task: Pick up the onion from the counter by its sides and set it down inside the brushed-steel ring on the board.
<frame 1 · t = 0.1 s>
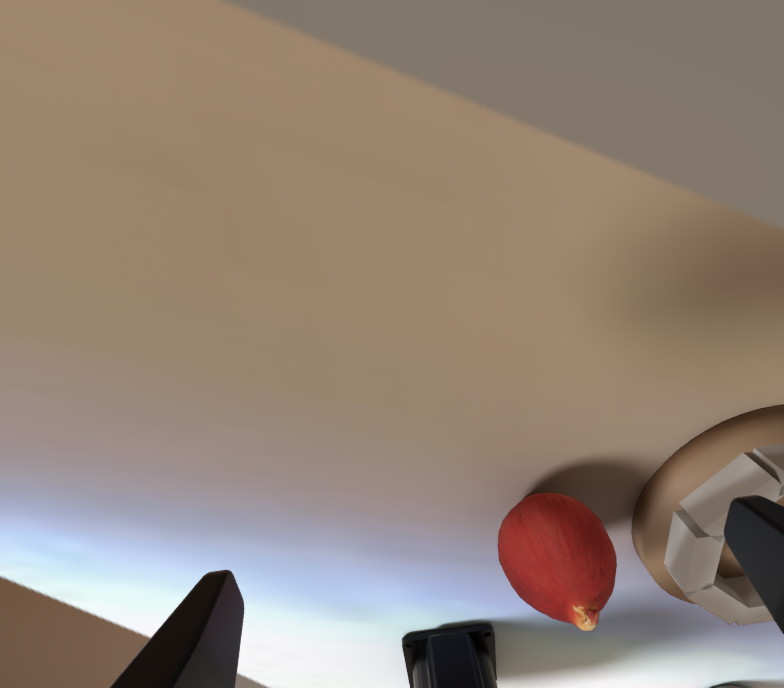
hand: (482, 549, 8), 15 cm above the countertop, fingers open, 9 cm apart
onion: (529, 497, 27), on the countertop
ring board: (749, 505, 28), on the countertop
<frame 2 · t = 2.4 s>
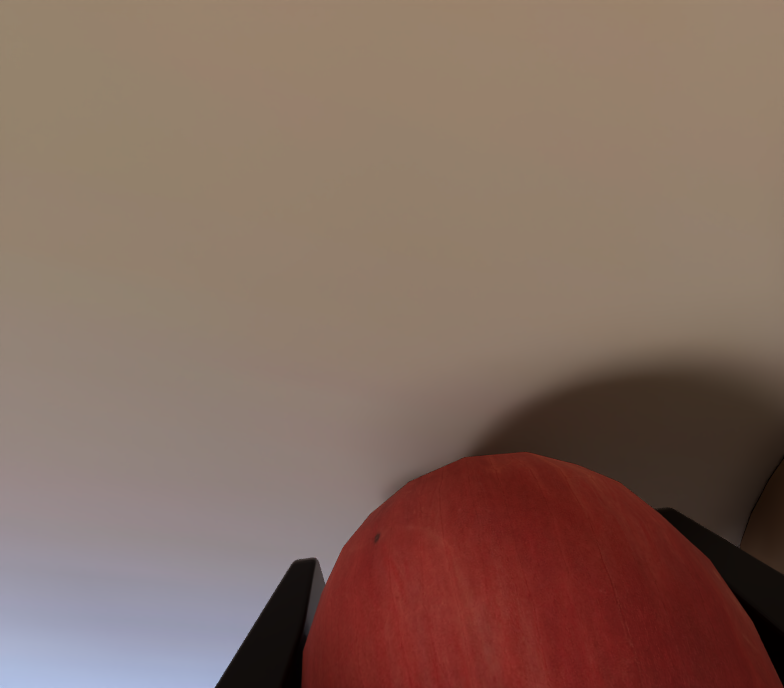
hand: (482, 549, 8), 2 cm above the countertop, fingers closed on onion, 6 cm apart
onion: (462, 478, 10), on the countertop, touching gripper
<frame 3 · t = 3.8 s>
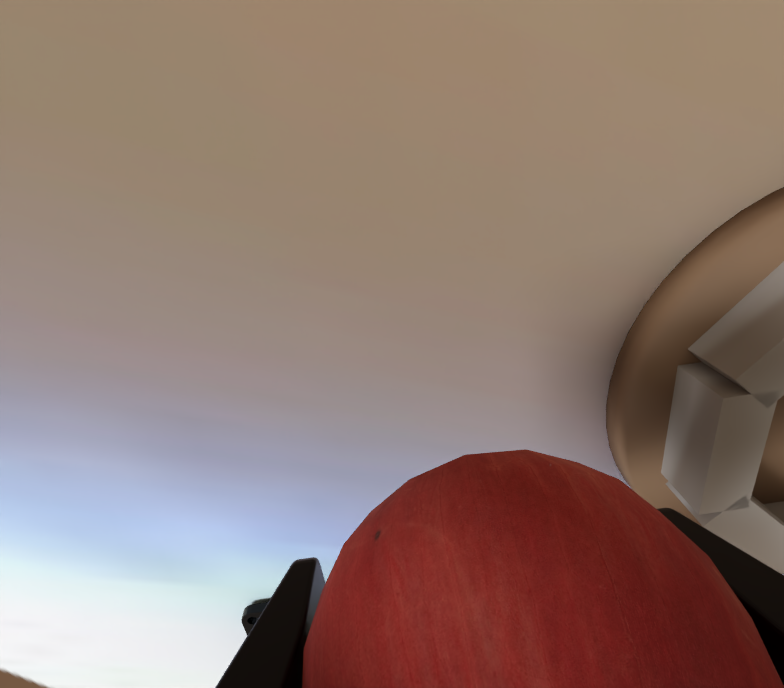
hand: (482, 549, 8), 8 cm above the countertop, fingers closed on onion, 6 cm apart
onion: (462, 477, 10), point 6 cm above the countertop, touching gripper
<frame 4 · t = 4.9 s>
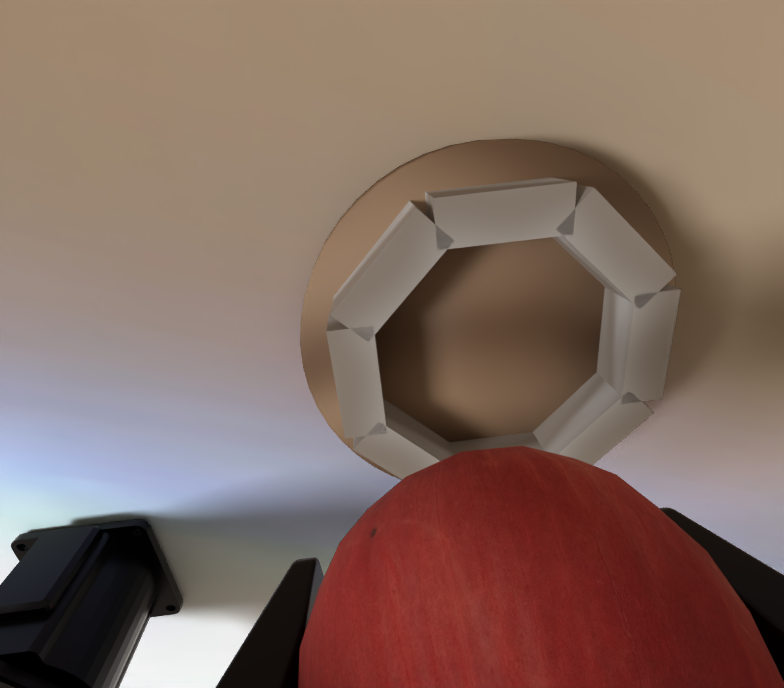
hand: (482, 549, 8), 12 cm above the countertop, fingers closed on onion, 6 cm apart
onion: (459, 475, 10), point 10 cm above the countertop, touching gripper
ring board: (480, 330, 19), on the countertop
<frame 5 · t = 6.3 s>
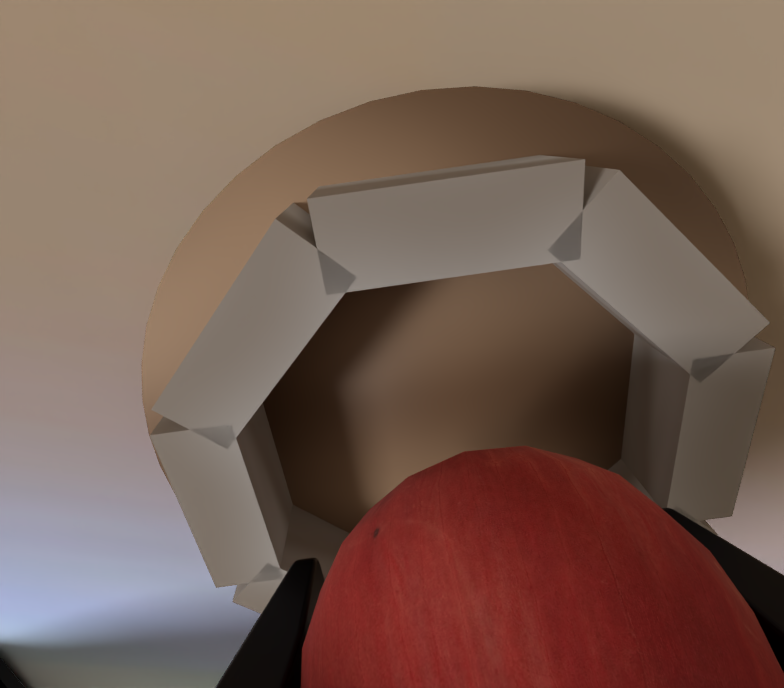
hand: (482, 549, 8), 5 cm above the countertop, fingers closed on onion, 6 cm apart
onion: (461, 475, 10), point 3 cm above the countertop, touching gripper
ring board: (442, 394, 13), on the countertop
when the fingers open (5 cm above the countertop, at t = 7.3 s): onion drops 1 cm, resting on ring board.
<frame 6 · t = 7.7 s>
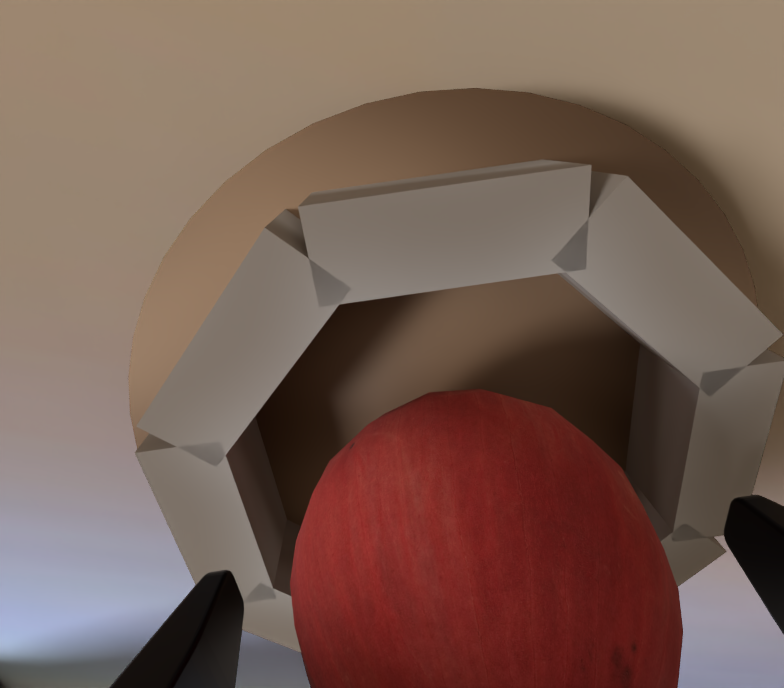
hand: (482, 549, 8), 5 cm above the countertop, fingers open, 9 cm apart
onion: (445, 432, 11), point 1 cm above the countertop, touching ring board
ring board: (441, 405, 12), on the countertop
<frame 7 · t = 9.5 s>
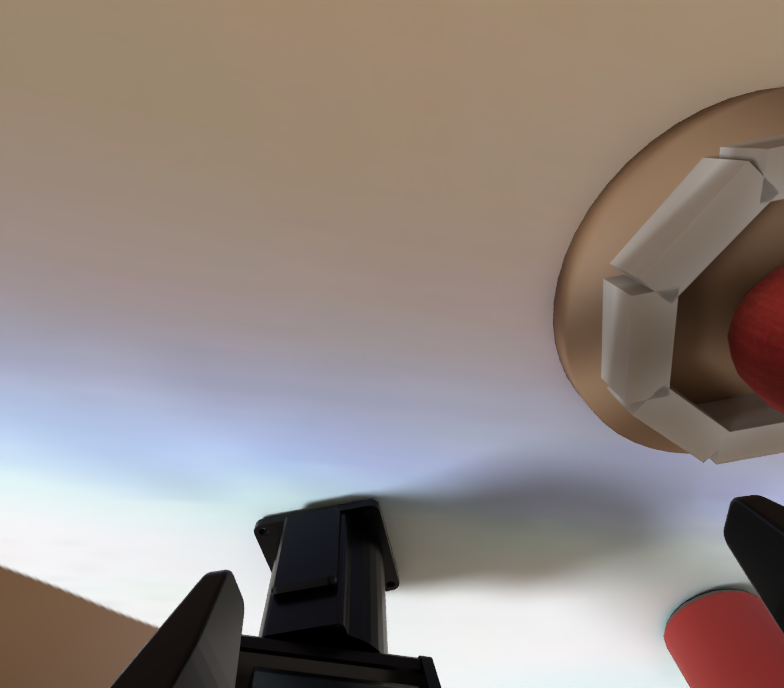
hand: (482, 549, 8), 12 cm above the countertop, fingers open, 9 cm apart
onion: (749, 298, 18), point 1 cm above the countertop, touching ring board
beer can: (707, 614, 29), on the countertop
ring board: (728, 289, 19), on the countertop
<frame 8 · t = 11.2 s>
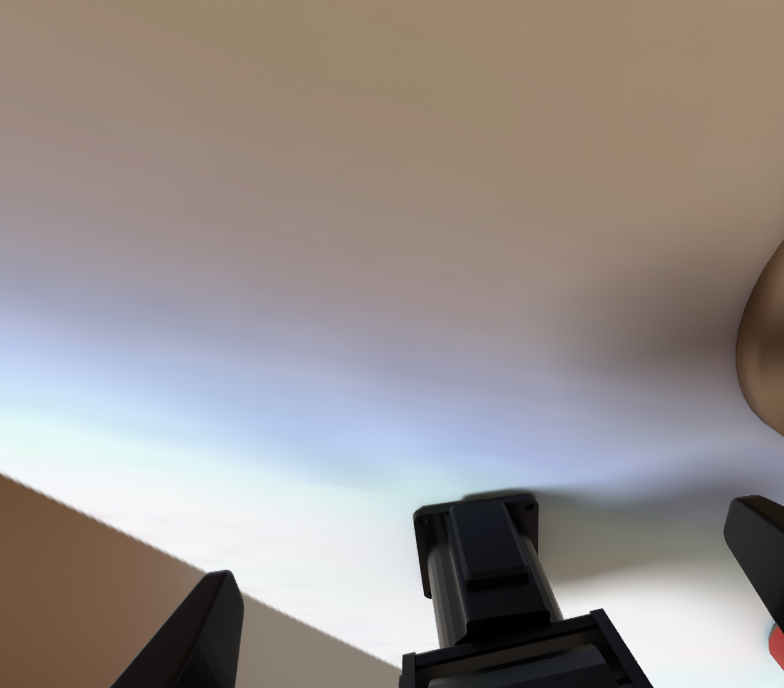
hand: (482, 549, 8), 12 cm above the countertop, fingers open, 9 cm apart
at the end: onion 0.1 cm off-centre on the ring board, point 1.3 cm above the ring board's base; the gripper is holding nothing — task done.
